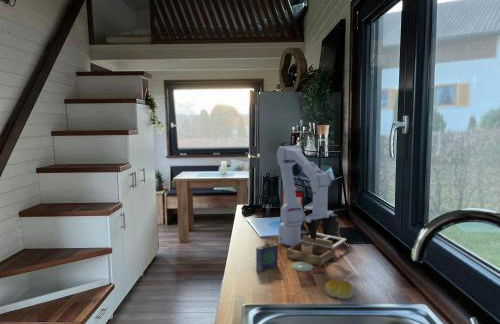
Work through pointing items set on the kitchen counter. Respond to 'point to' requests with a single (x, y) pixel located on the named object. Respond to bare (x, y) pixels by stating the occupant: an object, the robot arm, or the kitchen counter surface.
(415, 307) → the kitchen counter surface
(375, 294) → the kitchen counter surface
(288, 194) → the robot arm
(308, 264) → the saucer
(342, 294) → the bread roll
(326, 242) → the frame
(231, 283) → the kitchen counter surface
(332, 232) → the supplement bottle
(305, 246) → the brown cylinder
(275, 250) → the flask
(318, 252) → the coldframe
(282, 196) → the cleaning product box
